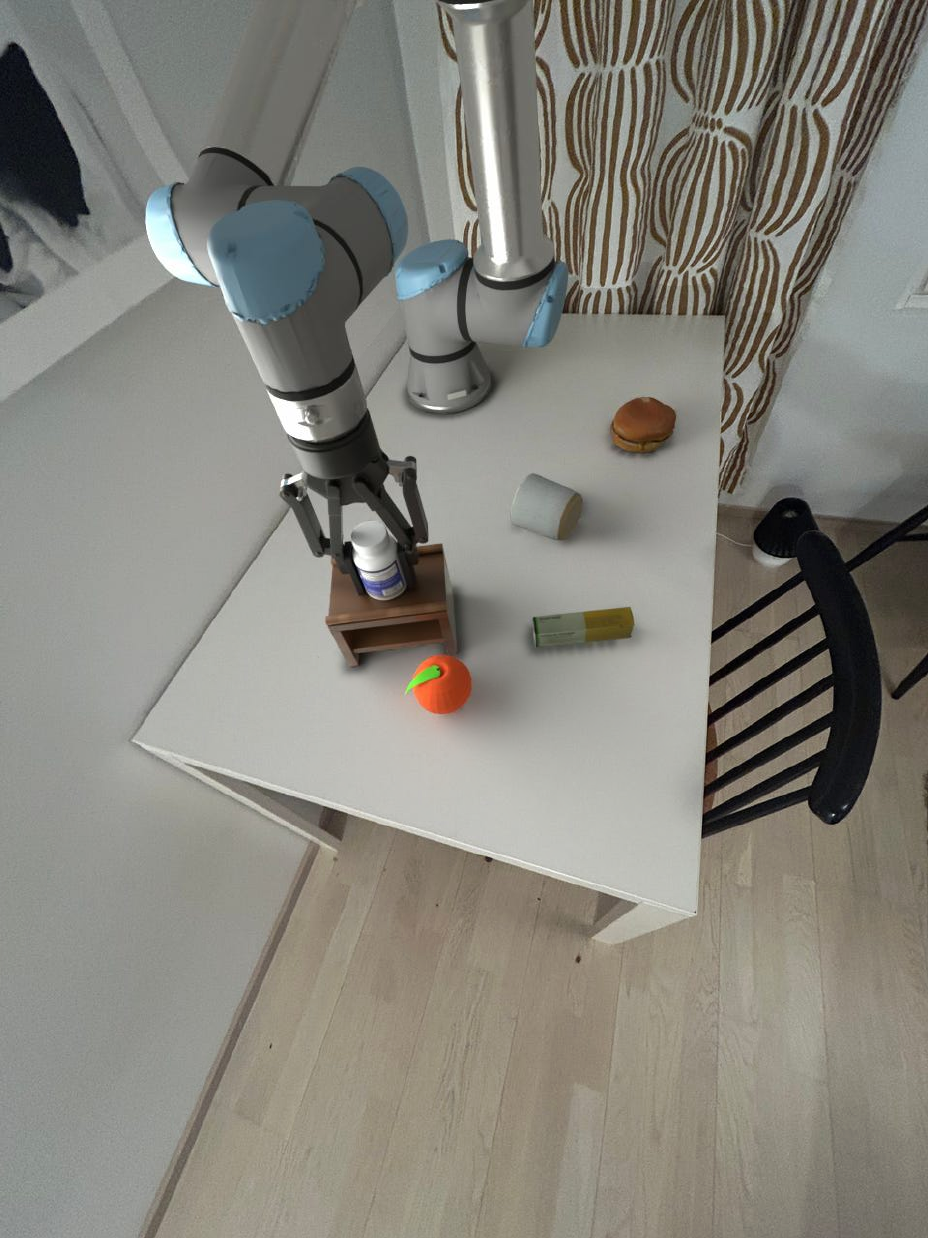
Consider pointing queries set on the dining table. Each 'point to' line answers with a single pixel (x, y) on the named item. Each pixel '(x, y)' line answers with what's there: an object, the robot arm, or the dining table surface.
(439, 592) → the stand
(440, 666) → the clementine
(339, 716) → the dining table surface
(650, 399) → the burger
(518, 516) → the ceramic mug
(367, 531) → the pill bottle
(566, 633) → the medication box
